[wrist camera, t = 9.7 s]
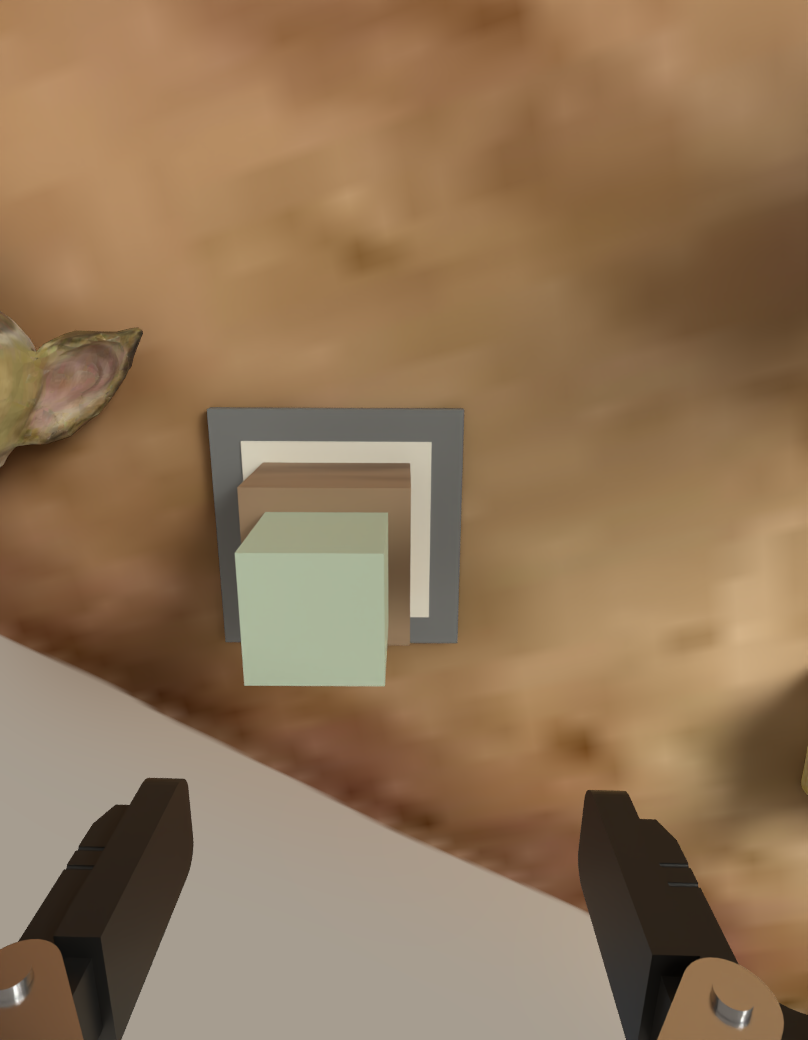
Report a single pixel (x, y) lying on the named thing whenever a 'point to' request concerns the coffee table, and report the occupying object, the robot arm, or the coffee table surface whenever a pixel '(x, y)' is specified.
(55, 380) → the ceramic sculpture
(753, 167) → the coffee table surface
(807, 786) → the toy sofa
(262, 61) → the coffee table surface
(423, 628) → the mat
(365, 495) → the walnut base block
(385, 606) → the sage cube
